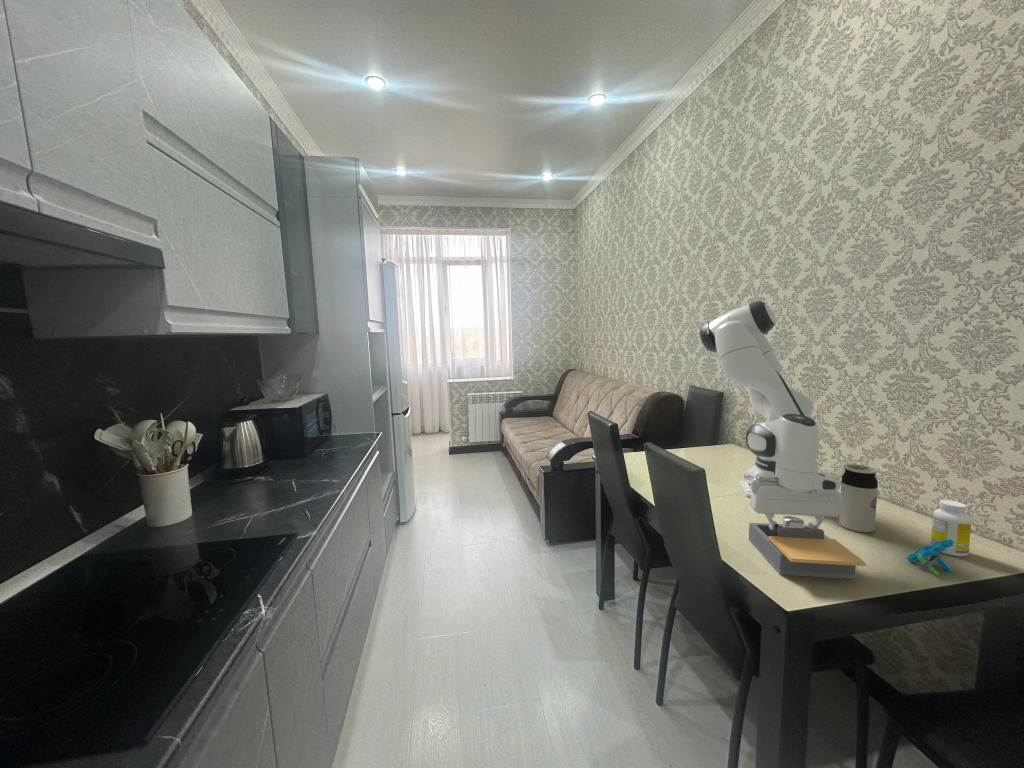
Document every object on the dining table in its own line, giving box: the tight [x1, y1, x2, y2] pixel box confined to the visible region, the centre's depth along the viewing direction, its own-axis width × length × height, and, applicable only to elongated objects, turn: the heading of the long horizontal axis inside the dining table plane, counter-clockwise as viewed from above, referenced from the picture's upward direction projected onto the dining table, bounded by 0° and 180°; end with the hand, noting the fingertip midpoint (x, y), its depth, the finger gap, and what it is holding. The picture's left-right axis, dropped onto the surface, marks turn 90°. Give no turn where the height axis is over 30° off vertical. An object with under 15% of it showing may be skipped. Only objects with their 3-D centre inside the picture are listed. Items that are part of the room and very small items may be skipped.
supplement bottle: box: [930, 499, 972, 557], centre depth 103 cm, size 7×7×13 cm
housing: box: [748, 522, 857, 580], centre depth 101 cm, size 17×16×5 cm
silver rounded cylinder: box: [782, 515, 805, 528], centre depth 104 cm, size 6×6×8 cm
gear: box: [906, 539, 954, 577], centre depth 96 cm, size 11×6×10 cm
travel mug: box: [838, 463, 879, 534], centre depth 116 cm, size 8×8×18 cm
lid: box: [768, 527, 867, 567], centre depth 95 cm, size 12×15×3 cm
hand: (793, 529), depth 103 cm, fingers open, 8 cm apart
